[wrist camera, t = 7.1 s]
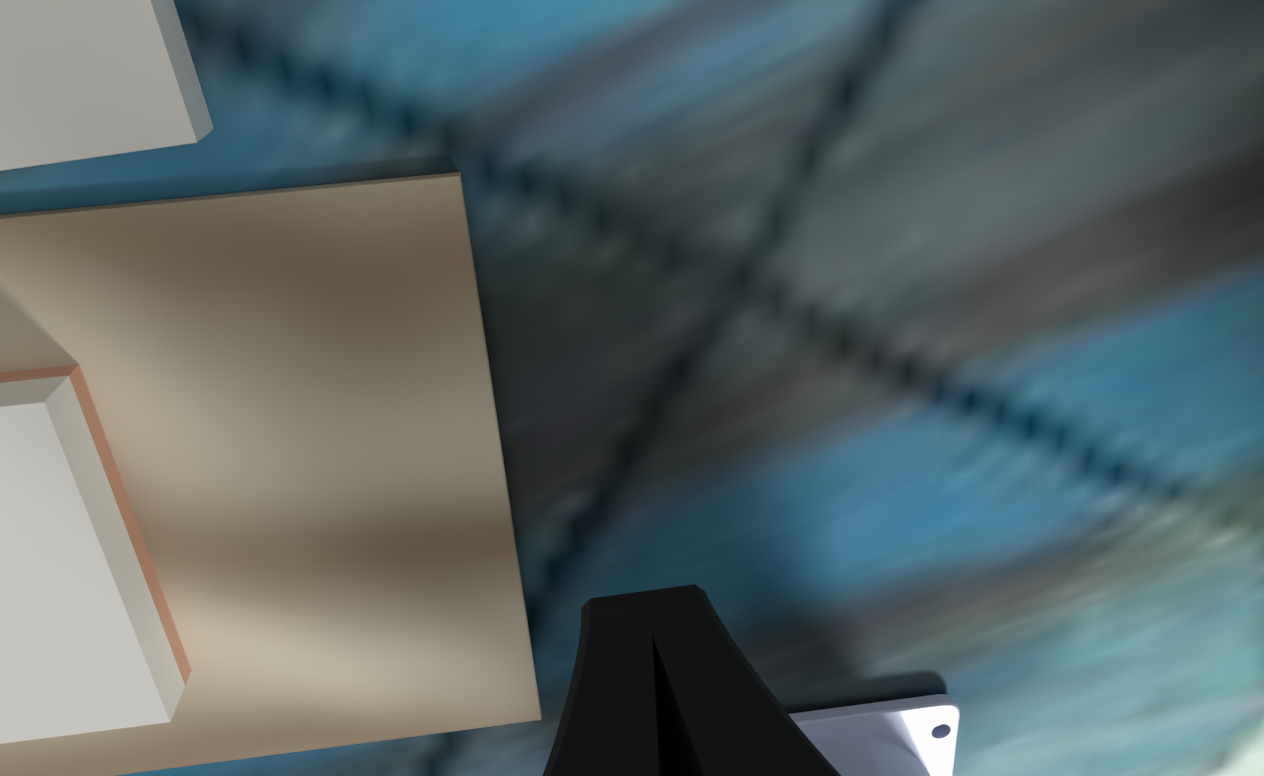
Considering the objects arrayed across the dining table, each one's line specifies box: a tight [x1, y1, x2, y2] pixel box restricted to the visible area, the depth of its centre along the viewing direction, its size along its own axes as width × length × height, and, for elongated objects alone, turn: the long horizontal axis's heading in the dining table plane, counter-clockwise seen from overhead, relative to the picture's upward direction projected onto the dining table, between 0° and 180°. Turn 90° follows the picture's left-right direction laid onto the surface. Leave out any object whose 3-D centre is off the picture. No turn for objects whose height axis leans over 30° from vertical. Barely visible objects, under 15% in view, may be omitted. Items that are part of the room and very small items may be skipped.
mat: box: [0, 172, 541, 776], centre depth 21 cm, size 14×18×1 cm
